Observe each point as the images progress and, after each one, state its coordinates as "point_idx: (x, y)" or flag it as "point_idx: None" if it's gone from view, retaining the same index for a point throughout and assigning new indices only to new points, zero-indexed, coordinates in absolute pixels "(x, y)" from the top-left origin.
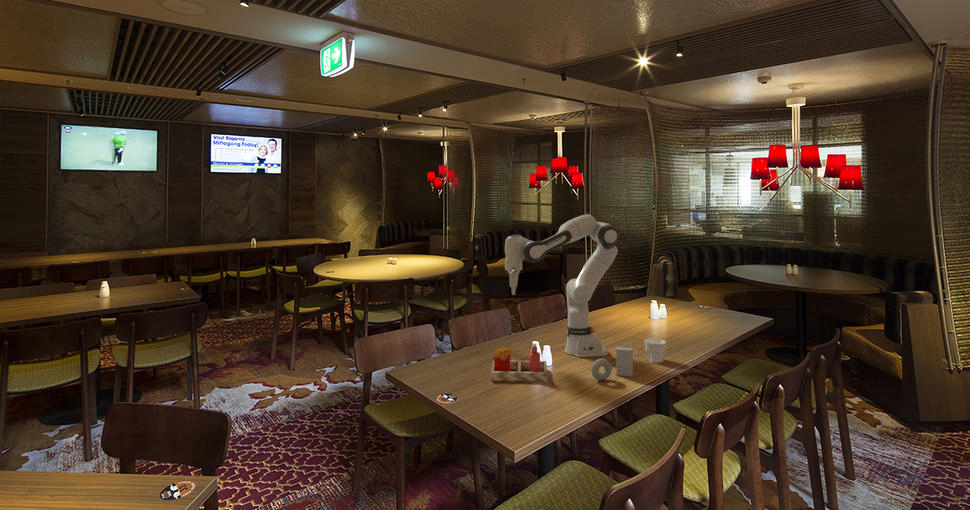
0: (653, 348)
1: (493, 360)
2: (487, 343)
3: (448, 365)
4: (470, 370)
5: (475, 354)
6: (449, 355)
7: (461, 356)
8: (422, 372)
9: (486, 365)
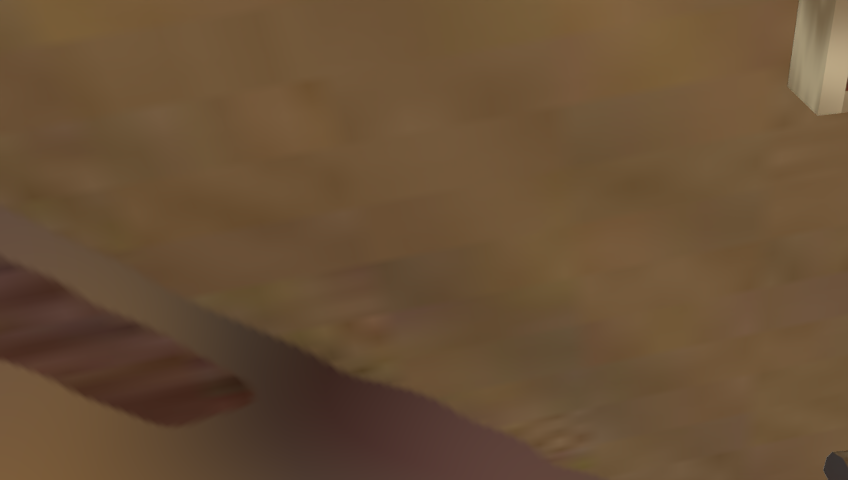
0: None
1: (826, 112)
2: (129, 253)
3: (706, 381)
4: (824, 237)
5: (445, 279)
6: (496, 419)
7: (507, 353)
8: None
9: (713, 152)
